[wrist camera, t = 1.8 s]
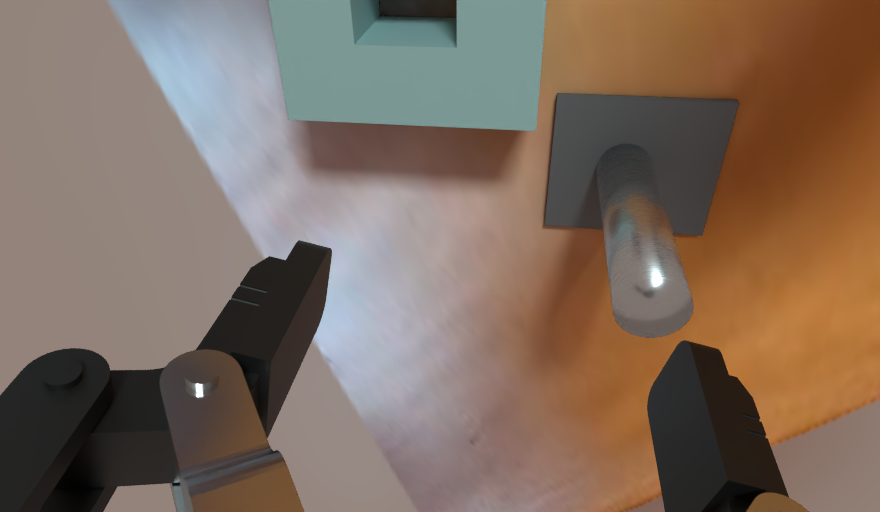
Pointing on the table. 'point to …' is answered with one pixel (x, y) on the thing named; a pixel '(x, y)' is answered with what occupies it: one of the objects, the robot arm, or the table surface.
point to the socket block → (411, 63)
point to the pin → (640, 246)
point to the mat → (658, 132)
